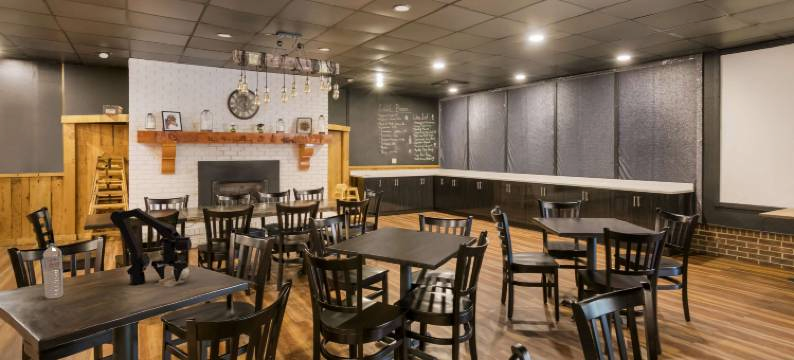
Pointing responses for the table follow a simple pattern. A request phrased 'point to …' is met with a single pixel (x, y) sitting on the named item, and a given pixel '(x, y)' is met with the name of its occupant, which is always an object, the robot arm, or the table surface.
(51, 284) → the water bottle
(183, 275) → the bowl
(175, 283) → the mat
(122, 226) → the robot arm
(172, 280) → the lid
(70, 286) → the table surface
